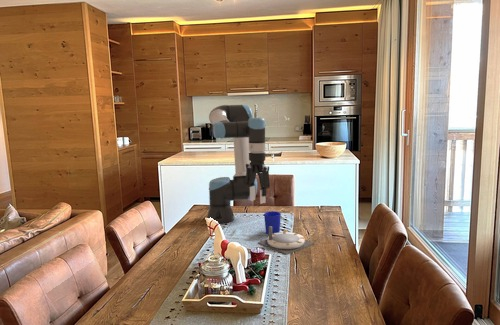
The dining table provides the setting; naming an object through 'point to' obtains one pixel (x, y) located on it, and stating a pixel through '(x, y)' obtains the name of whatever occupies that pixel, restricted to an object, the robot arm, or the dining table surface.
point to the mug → (272, 221)
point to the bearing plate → (286, 251)
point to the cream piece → (285, 240)
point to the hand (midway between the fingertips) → (257, 201)
